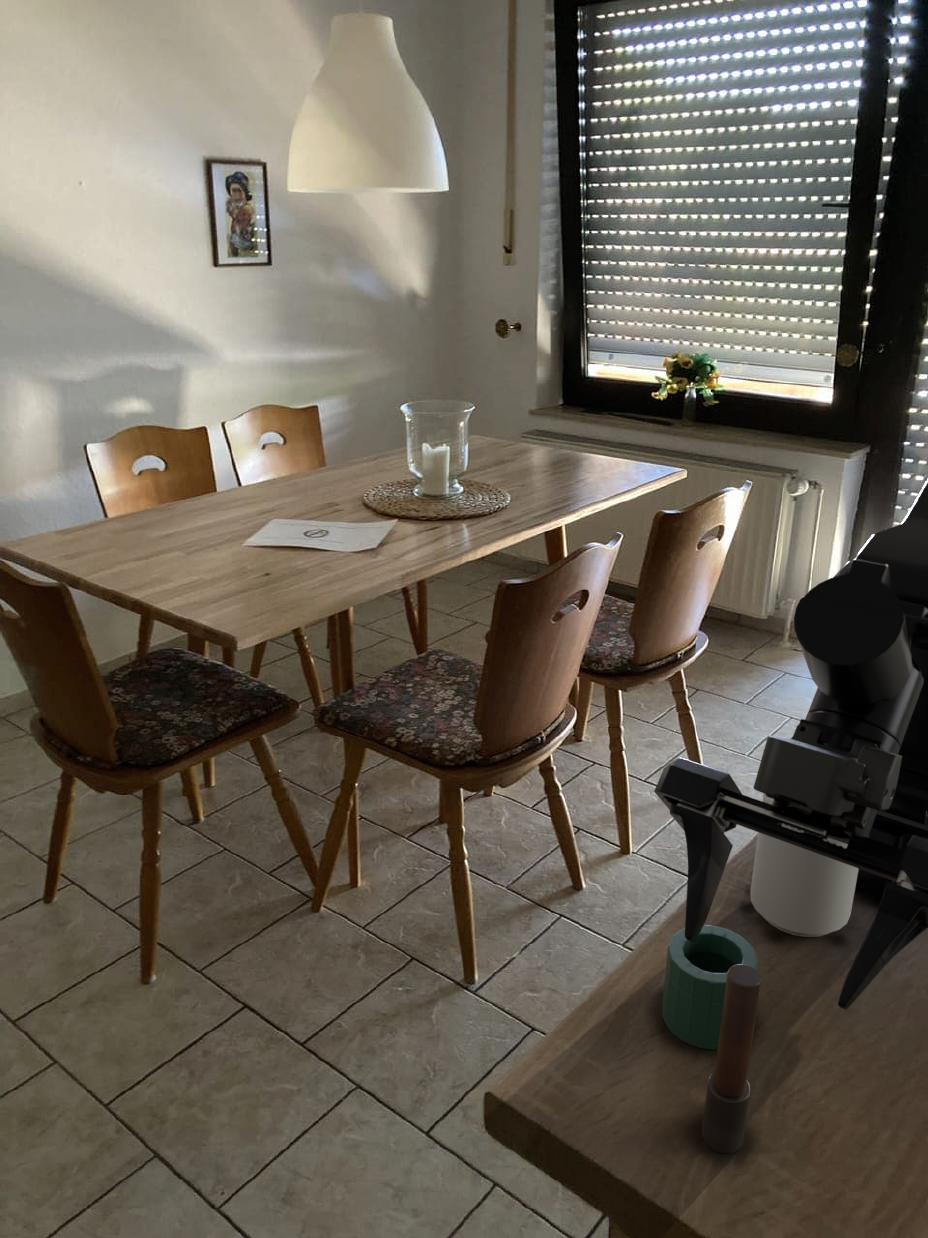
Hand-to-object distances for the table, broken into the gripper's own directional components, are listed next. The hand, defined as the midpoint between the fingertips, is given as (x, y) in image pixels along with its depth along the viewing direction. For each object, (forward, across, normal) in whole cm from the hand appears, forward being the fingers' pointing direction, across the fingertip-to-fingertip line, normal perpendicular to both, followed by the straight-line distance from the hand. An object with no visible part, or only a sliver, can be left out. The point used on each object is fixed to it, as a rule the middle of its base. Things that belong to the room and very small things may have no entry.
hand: (762, 972), depth 60 cm
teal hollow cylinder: (+3, -5, +11) cm, 12 cm away
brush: (+9, 0, +5) cm, 11 cm away
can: (-7, -4, +22) cm, 23 cm away
